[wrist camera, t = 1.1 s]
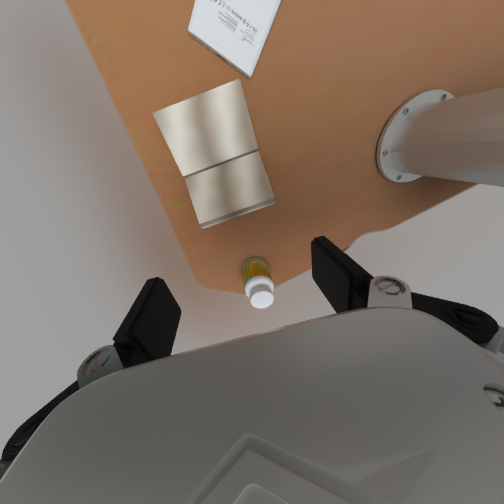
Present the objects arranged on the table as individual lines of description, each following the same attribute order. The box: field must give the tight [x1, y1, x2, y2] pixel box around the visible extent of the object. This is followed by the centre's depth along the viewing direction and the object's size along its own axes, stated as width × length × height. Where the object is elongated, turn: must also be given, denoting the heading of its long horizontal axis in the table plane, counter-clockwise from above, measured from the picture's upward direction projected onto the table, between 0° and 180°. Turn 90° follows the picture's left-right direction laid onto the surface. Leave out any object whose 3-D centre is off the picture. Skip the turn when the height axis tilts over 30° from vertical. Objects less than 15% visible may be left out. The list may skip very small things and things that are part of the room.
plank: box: [185, 151, 276, 229], centre depth 28 cm, size 12×8×1 cm
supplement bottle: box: [242, 258, 274, 308], centre depth 34 cm, size 5×5×10 cm
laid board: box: [152, 78, 258, 178], centre depth 26 cm, size 12×9×1 cm
